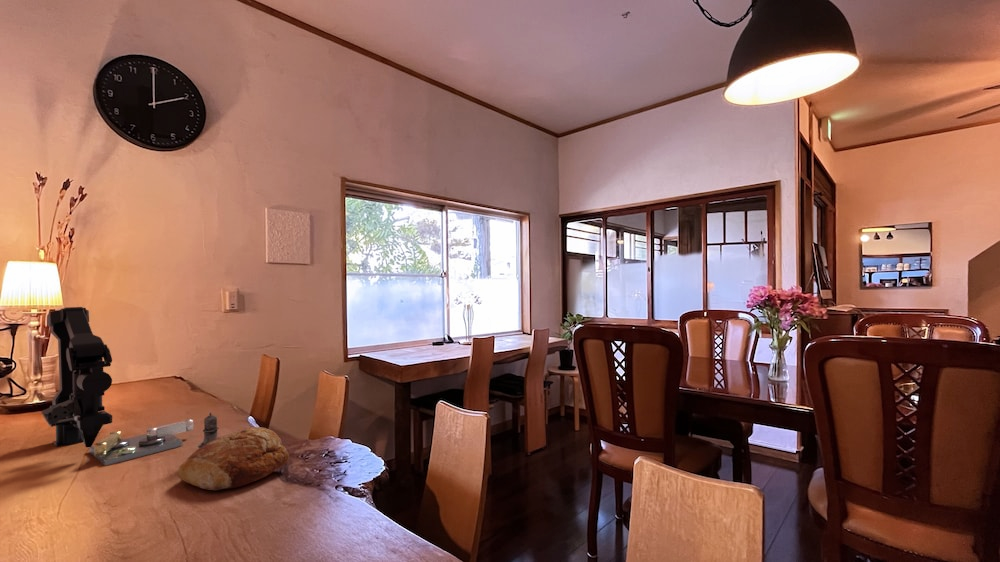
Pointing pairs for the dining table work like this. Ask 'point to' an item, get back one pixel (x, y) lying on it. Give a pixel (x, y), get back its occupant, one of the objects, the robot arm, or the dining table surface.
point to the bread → (235, 459)
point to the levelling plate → (136, 449)
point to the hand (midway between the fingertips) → (88, 446)
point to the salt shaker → (209, 429)
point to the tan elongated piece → (110, 443)
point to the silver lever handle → (165, 432)
